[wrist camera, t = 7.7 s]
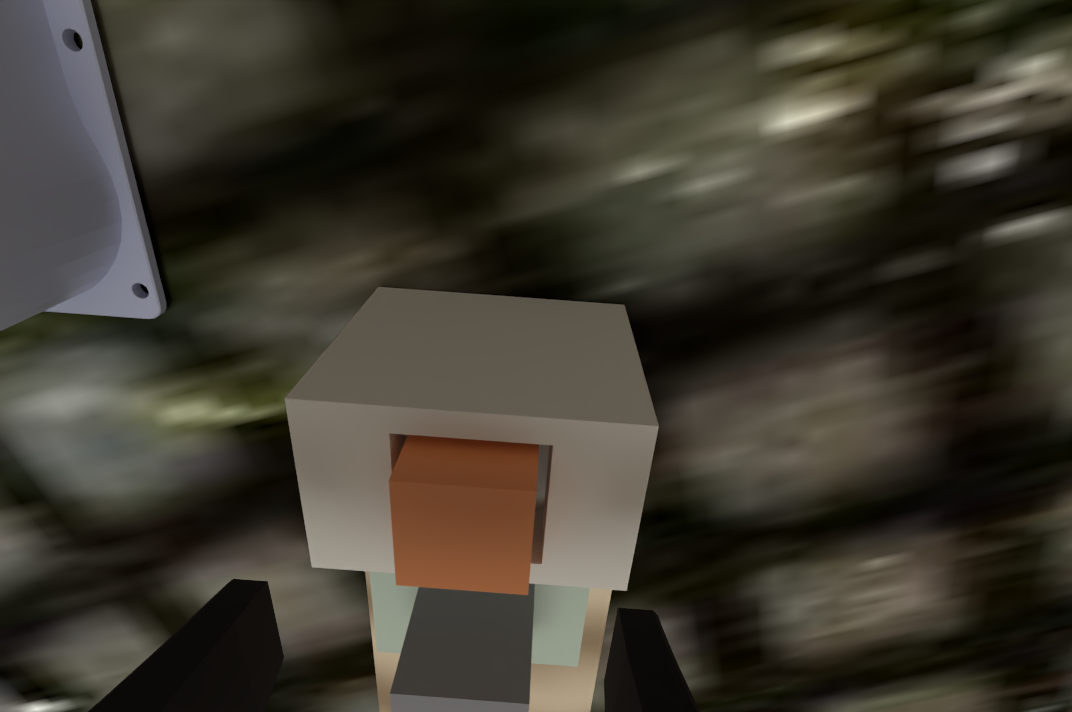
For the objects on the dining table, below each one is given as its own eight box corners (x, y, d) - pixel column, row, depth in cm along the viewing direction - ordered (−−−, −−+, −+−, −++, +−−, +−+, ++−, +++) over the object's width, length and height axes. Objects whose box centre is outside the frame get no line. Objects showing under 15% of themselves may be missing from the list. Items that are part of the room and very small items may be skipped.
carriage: (391, 459, 19) (311, 642, 13) (591, 474, 19) (607, 664, 13) (398, 581, 22) (336, 781, 16) (575, 595, 22) (582, 799, 16)
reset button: (413, 420, 13) (388, 480, 11) (539, 430, 13) (536, 491, 11) (417, 516, 15) (395, 585, 13) (532, 525, 15) (528, 595, 13)
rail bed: (359, 414, 20) (317, 486, 17) (633, 434, 20) (649, 511, 17) (388, 718, 29) (363, 809, 25) (581, 732, 29) (585, 825, 25)
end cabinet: (378, 286, 18) (284, 398, 12) (636, 305, 18) (677, 427, 12) (387, 416, 20) (312, 566, 14) (616, 433, 20) (642, 591, 14)
